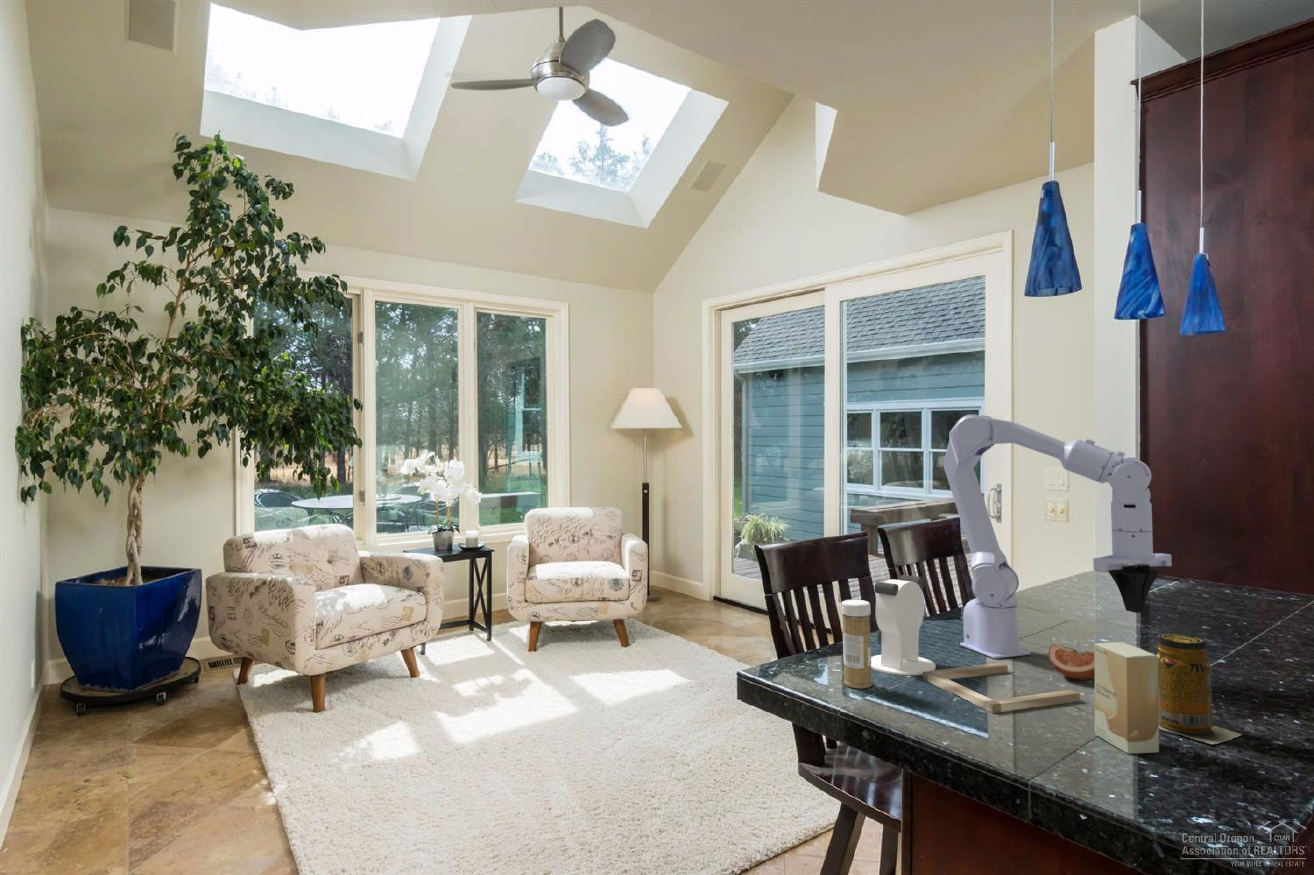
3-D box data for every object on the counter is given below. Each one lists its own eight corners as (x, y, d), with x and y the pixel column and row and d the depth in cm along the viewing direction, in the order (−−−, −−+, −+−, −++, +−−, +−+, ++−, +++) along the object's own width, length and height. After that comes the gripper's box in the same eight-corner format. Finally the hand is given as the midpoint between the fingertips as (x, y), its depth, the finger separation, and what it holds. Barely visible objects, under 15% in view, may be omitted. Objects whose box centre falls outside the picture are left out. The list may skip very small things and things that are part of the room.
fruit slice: (1114, 681, 115) (1113, 650, 116) (1098, 690, 111) (1097, 658, 111) (1059, 669, 122) (1058, 640, 122) (1042, 678, 118) (1041, 647, 118)
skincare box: (1093, 735, 94) (1090, 642, 95) (1124, 733, 95) (1121, 640, 95) (1129, 755, 88) (1126, 655, 88) (1162, 753, 88) (1159, 654, 89)
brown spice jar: (878, 685, 115) (876, 602, 116) (859, 691, 113) (857, 605, 113) (856, 678, 119) (854, 597, 119) (837, 683, 117) (835, 601, 117)
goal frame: (922, 679, 118) (922, 671, 118) (1001, 669, 122) (1001, 662, 122) (992, 713, 103) (992, 704, 103) (1079, 700, 107) (1079, 692, 107)
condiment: (1172, 714, 101) (1169, 629, 101) (1242, 735, 93) (1239, 643, 94) (1141, 724, 98) (1138, 636, 98) (1211, 747, 90) (1208, 651, 90)
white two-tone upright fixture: (888, 651, 134) (886, 571, 135) (948, 663, 126) (946, 578, 127) (855, 665, 126) (853, 580, 126) (917, 679, 118) (914, 588, 118)
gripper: (1118, 535, 114) (1121, 620, 114) (1188, 530, 118) (1190, 612, 118) (1081, 530, 121) (1084, 610, 121) (1148, 526, 125) (1150, 604, 125)
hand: (1134, 611), depth 120 cm, fingers closed
